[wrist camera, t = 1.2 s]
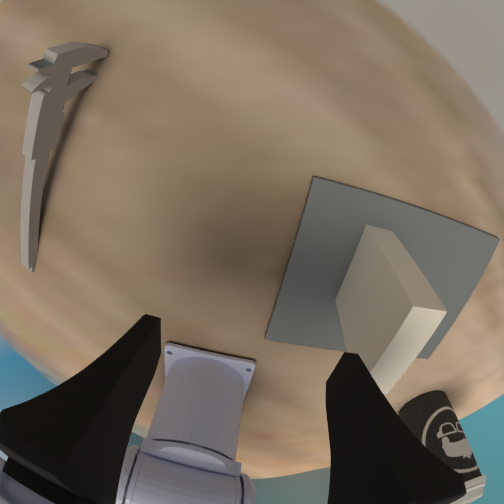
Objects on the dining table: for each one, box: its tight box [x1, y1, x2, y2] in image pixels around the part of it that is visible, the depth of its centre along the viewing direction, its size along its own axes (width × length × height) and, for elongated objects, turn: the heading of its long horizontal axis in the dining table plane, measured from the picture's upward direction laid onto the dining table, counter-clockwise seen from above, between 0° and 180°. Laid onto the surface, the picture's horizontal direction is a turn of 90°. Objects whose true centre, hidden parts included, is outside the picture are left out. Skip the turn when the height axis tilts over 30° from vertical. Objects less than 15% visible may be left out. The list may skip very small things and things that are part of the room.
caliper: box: [21, 42, 108, 272], centre depth 15 cm, size 20×1×6 cm, turn 145°
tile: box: [335, 224, 447, 394], centre depth 16 cm, size 6×2×8 cm, turn 169°
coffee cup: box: [399, 391, 486, 504], centre depth 22 cm, size 10×10×15 cm
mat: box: [265, 176, 500, 359], centre depth 20 cm, size 13×16×1 cm
